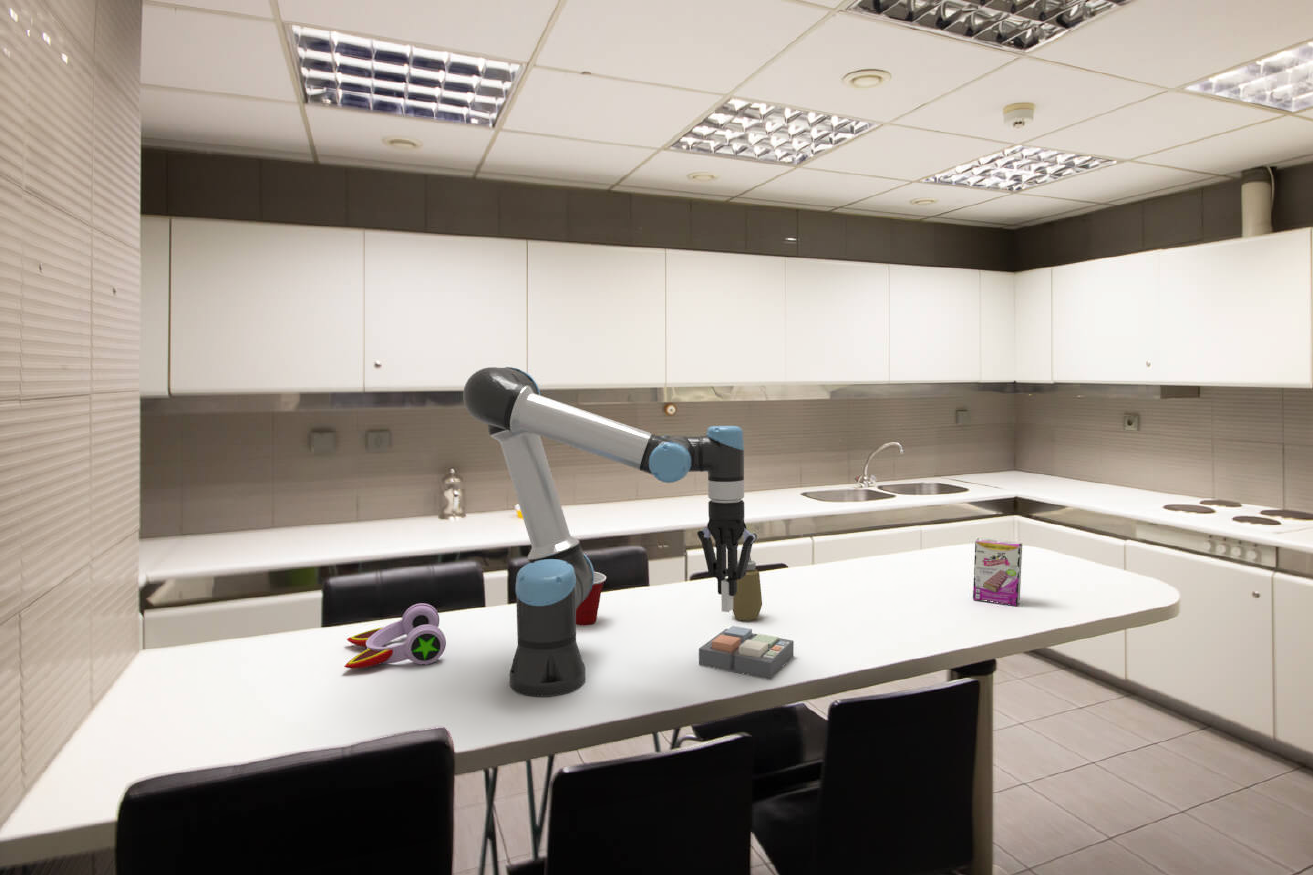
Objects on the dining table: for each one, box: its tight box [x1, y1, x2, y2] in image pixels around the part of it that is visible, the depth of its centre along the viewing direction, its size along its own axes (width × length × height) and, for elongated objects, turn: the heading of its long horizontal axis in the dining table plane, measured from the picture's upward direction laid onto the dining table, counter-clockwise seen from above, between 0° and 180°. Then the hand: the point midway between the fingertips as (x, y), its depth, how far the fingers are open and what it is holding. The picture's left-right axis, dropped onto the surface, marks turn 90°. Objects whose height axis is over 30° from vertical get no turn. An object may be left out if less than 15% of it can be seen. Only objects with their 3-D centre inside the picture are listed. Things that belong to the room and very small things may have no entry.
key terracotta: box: [712, 635, 740, 653], centre depth 156 cm, size 5×5×3 cm
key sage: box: [752, 633, 779, 648], centre depth 158 cm, size 5×5×3 cm
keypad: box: [698, 628, 795, 680], centre depth 157 cm, size 14×16×4 cm
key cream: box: [739, 639, 768, 658], centre depth 153 cm, size 5×5×3 cm
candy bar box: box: [972, 537, 1023, 607], centre depth 196 cm, size 11×5×16 cm, turn 58°
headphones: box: [343, 602, 447, 669], centre depth 163 cm, size 20×10×20 cm
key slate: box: [724, 625, 753, 643], centre depth 161 cm, size 5×5×3 cm
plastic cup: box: [576, 571, 607, 627], centre depth 182 cm, size 11×11×12 cm
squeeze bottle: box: [731, 555, 763, 622], centre depth 184 cm, size 8×8×18 cm
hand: (727, 609), depth 155 cm, fingers closed
